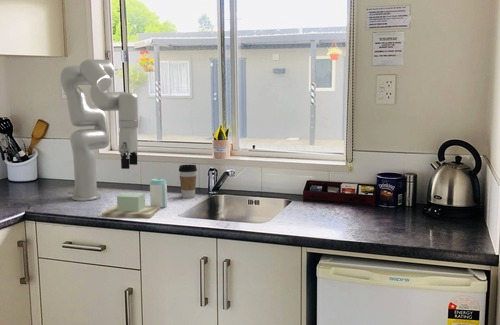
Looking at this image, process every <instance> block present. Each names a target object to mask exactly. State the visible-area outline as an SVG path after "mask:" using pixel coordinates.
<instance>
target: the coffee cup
mask: <svg viewBox="0 0 500 325" xmlns="http://www.w3.org/2000/svg"><path fill="white" fill-rule="evenodd" d="M197 171H198V169H197V165H196V164H181V165H179V168H178V172H179V181H180V183H179V184H180V191H181V197H182V198H183V199H193V198H195V197H196V185H197Z"/></svg>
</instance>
